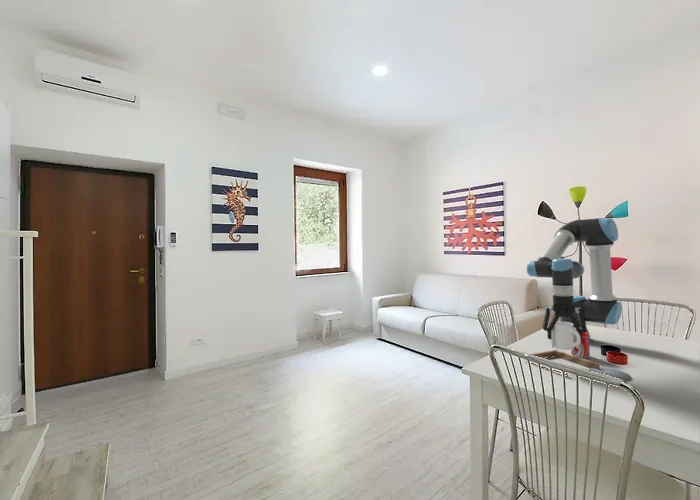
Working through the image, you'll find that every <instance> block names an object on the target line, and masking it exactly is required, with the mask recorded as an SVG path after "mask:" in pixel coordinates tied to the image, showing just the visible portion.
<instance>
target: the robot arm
mask: <svg viewBox="0 0 700 500" xmlns="http://www.w3.org/2000/svg"><path fill="white" fill-rule="evenodd" d="M618 239H619V231H618V227H617V224H616V222H615V220H614V219H613V218H611V217H600V218H598V217H597V218H586V219H575V220H573V221H570V222H567V223H565V224H564V225H562V226H561V227H560V228H558V230H557V231H556V232H555V233H554V235H553V239H552V241H551V242H550V243H549V245H548V246H547V247H546V248H545V250H544V251H543V252H542V254H541V255H540V256H539V257H538V259H537V260H531V261H528V262H527V265H526V273H527V275H528V276H529V277H534V278H535V277H536V278H551V279H552V283H551V284H552V294H553V295H552V306H551V307H550V306H549V307H547V306H545V307H544V311H545V313H544V319H543V322H542V326H541V327H542V329H543V331H545V332H547V333H546V334H547V339H548V340H549V341H550V343H549V345H550V347H551V349H552V348H555V347H554V333H553V332H552V329H553V328H554V326H555V324H556V322H557V321H559V319H560V321H563V322H570V323H573V324H574V327H575V328H576V330H577V332H578V333H579V335H580V338H581V340H582V333H583V332H586V331H587V329H588V326H587V322H589V323H596V324H597V323H598V324H604V325H613V326H614V325H616V324H618V323H619V321H620V320H621V316H622V310H623V305H622V302H621V301H617V299H618V298H617V297H616V295H614V294H613V281H612V280H613V278H612V259H611V258H612V256H611V247H613V245H614V244H615V242H616V241H618ZM579 242H580V243H583V242H584V244H585V247H587V248H588V250H589V251H588V253H589V267H590V283H591V285H590V286H591V287H590V288H591V294H590V295H588V298H587V297H586V296H585V295H574V280H575V279H578V278H580V277H582V276H583V274H584V273H585V267H584V265H583V263H581V262H580V261H575V260H572V259H571V258H561V257H563V254H565V253H566V250H567V249H568V248H569V246H572V245H573V244H574V243H579ZM586 298H587V299H586ZM552 311H553V312H554V314H553V317H552V319H551V321H550V318H551V317H550V316H551V313H552ZM549 321H550V322H549ZM580 327H581V329H580ZM586 328H587V329H586ZM589 341H590V342H591V335H590V334H589ZM576 342H577V337H576V335H575V343H576ZM576 348H577V349H579V345H578V346H576Z"/></svg>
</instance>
